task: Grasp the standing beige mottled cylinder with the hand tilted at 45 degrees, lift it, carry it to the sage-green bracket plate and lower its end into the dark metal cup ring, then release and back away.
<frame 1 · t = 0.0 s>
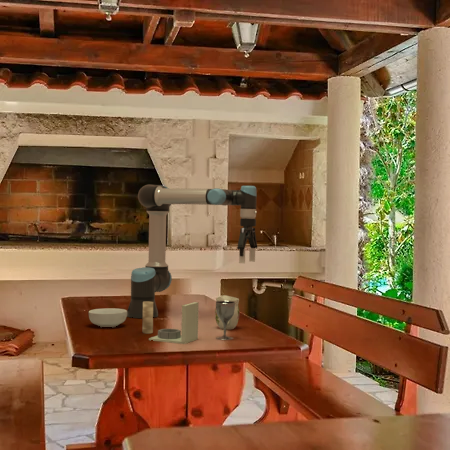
hand: (247, 262, 331), 28 cm above the table, tool pointing down, fingers open, 13 cm apart
beige mottled cylinder: (147, 332, 294), on the table
pitcher: (227, 329, 308), on the table
cereal bowl: (107, 326, 308), on the table
bracket: (173, 339, 280), on the table
wine glass: (224, 338, 285), on the table
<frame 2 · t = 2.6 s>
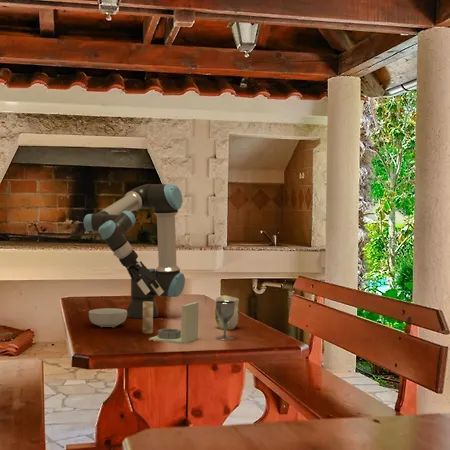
hand: (154, 293, 294), 17 cm above the table, tool tilted 40°, fingers open, 13 cm apart
nothing on the table moved.
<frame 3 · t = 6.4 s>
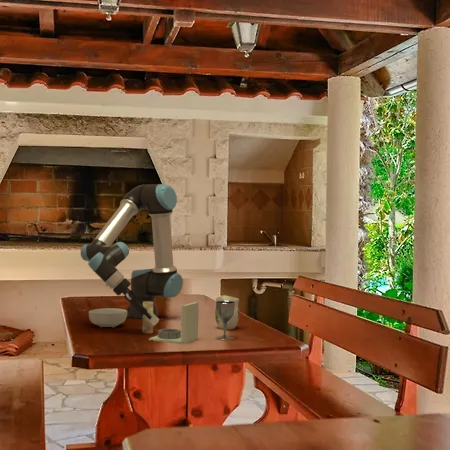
hand: (156, 322, 294), 4 cm above the table, tool tilted 45°, fingers closed on beige mottled cylinder, 4 cm apart
beige mottled cylinder: (147, 332, 294), on the table, touching gripper
everything else where it was.
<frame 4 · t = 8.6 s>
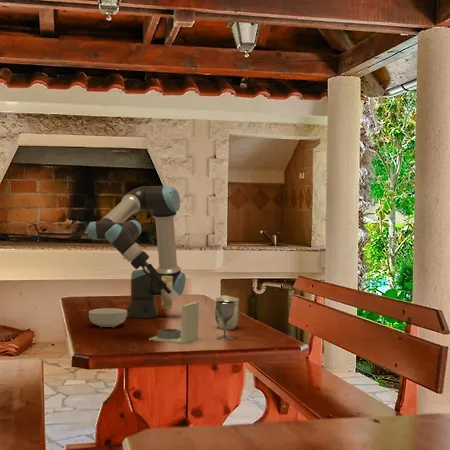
hand: (176, 297, 280), 17 cm above the table, tool tilted 45°, fingers closed on beige mottled cylinder, 4 cm apart
beige mottled cylinder: (166, 308, 280), point 13 cm above the table, touching gripper
everything else where it was.
when the fingers open (7 cm above the table, at t = 11.2 s): beige mottled cylinder drops 2 cm, resting on bracket.
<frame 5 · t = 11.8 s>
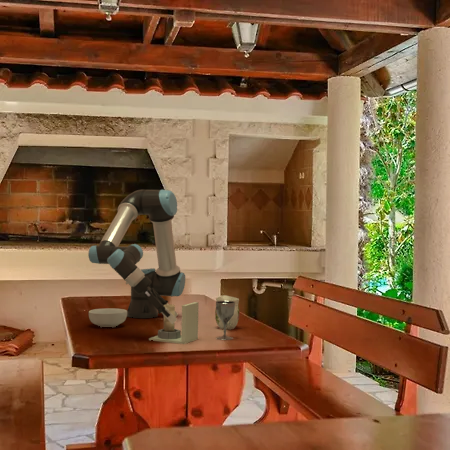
hand: (175, 319, 280), 8 cm above the table, tool tilted 45°, fingers open, 13 cm apart
beige mottled cylinder: (169, 337, 280), point 1 cm above the table, touching bracket
everything else where it was.
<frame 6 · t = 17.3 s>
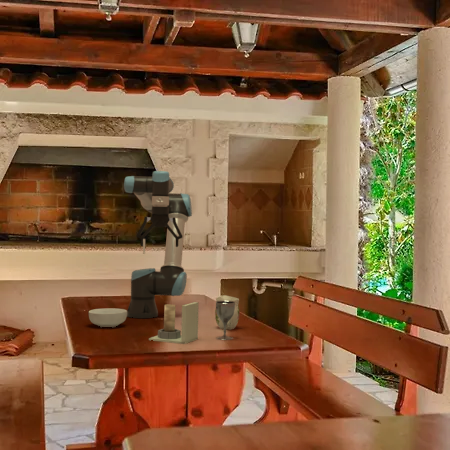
hand: (159, 254, 306), 33 cm above the table, tool pointing down, fingers open, 13 cm apart
nothing on the table moved.
at the end: beige mottled cylinder 0.1 cm from the target spot on the bracket, point 0.8 cm above the bracket's base; beige mottled cylinder tilted 1°; the gripper is holding nothing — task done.
